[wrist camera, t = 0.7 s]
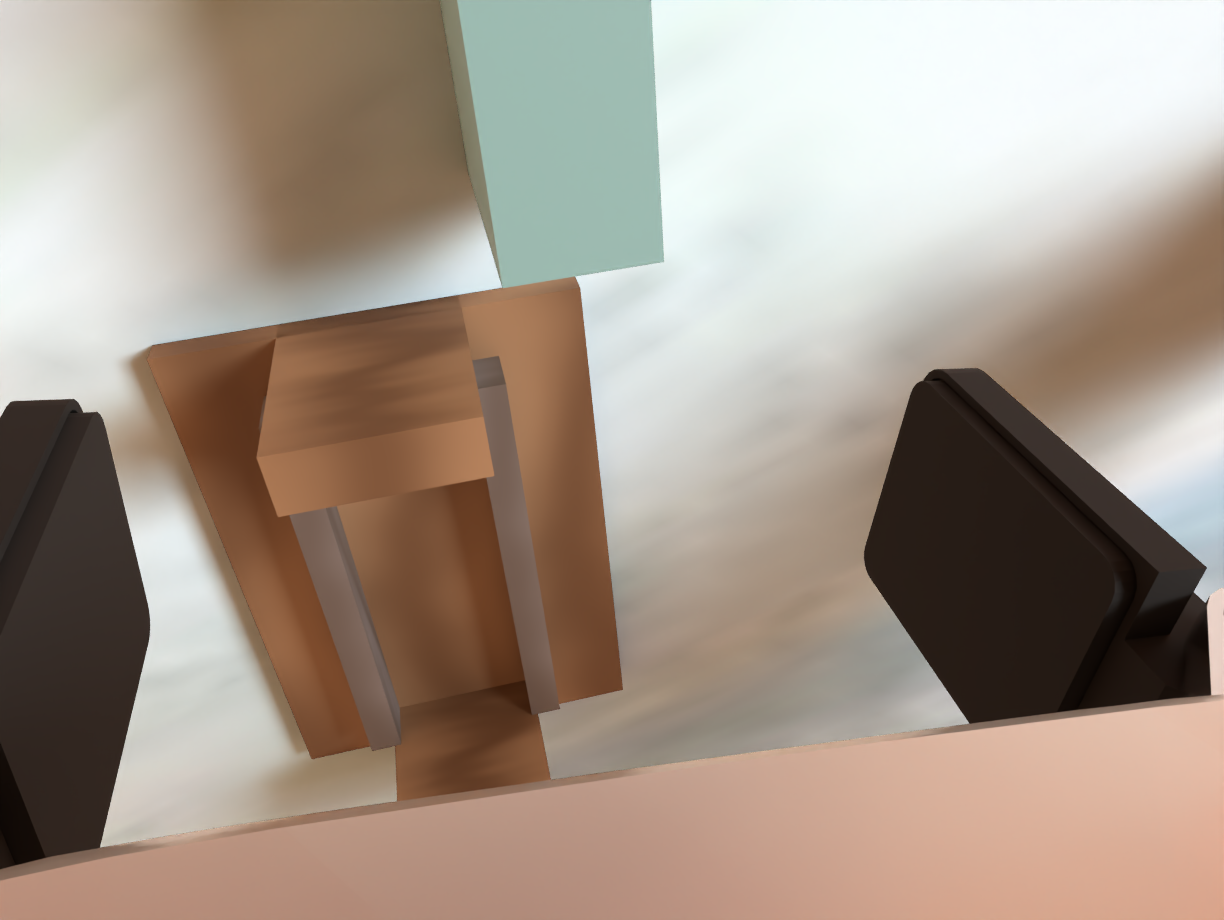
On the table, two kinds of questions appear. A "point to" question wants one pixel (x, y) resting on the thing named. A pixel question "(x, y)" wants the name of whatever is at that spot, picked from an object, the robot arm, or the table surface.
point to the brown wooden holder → (413, 521)
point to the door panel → (559, 132)
